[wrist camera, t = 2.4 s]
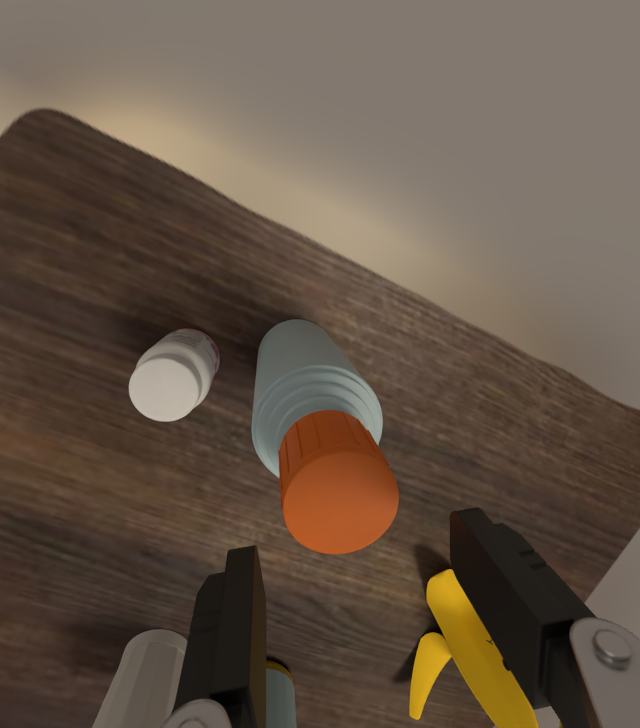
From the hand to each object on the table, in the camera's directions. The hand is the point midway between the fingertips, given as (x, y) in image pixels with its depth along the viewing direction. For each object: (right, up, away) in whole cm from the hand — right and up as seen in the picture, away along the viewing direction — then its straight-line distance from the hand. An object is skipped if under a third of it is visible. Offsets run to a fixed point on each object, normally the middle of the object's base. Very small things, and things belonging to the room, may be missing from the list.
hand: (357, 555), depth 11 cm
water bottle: (-3, +6, +21) cm, 22 cm away
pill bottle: (-11, +6, +20) cm, 24 cm away
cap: (-1, +1, +6) cm, 6 cm away
